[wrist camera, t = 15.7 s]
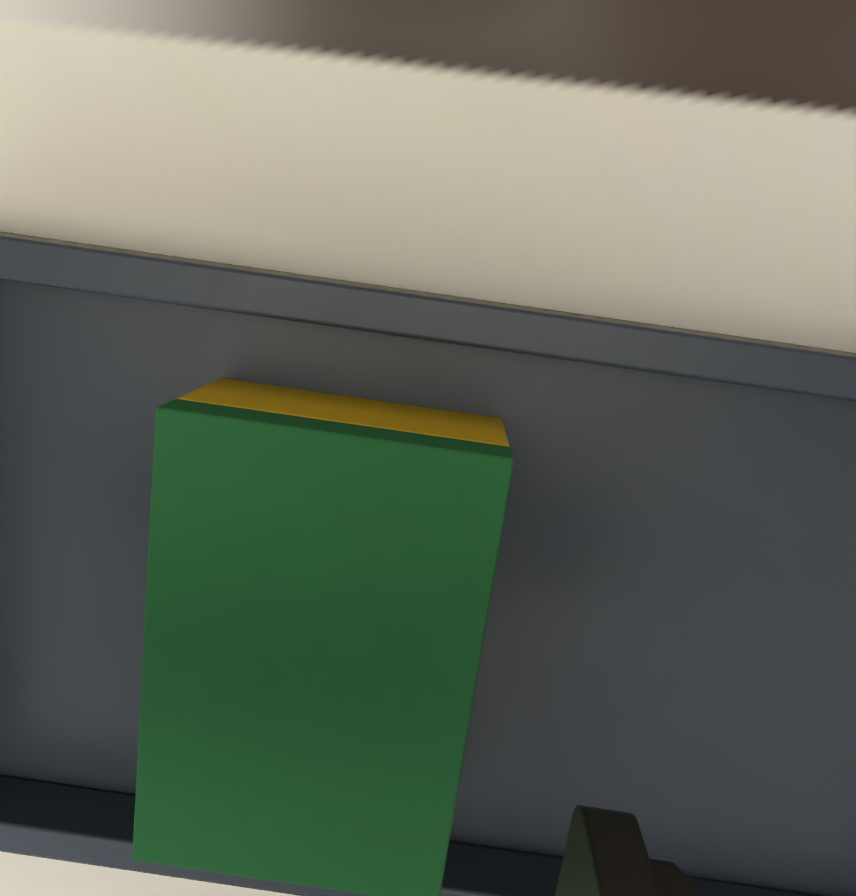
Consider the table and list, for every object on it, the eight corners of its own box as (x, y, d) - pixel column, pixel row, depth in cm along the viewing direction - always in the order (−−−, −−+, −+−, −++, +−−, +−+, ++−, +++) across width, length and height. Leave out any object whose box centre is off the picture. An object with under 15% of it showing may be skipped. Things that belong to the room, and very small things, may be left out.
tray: (1081, 385, 16) (1171, 401, 14) (896, 917, 19) (947, 993, 17) (-37, 226, 16) (-107, 220, 14) (-32, 781, 19) (-88, 840, 17)
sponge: (502, 417, 16) (515, 458, 12) (442, 784, 18) (438, 906, 14) (220, 377, 16) (154, 406, 12) (193, 748, 18) (130, 861, 14)
